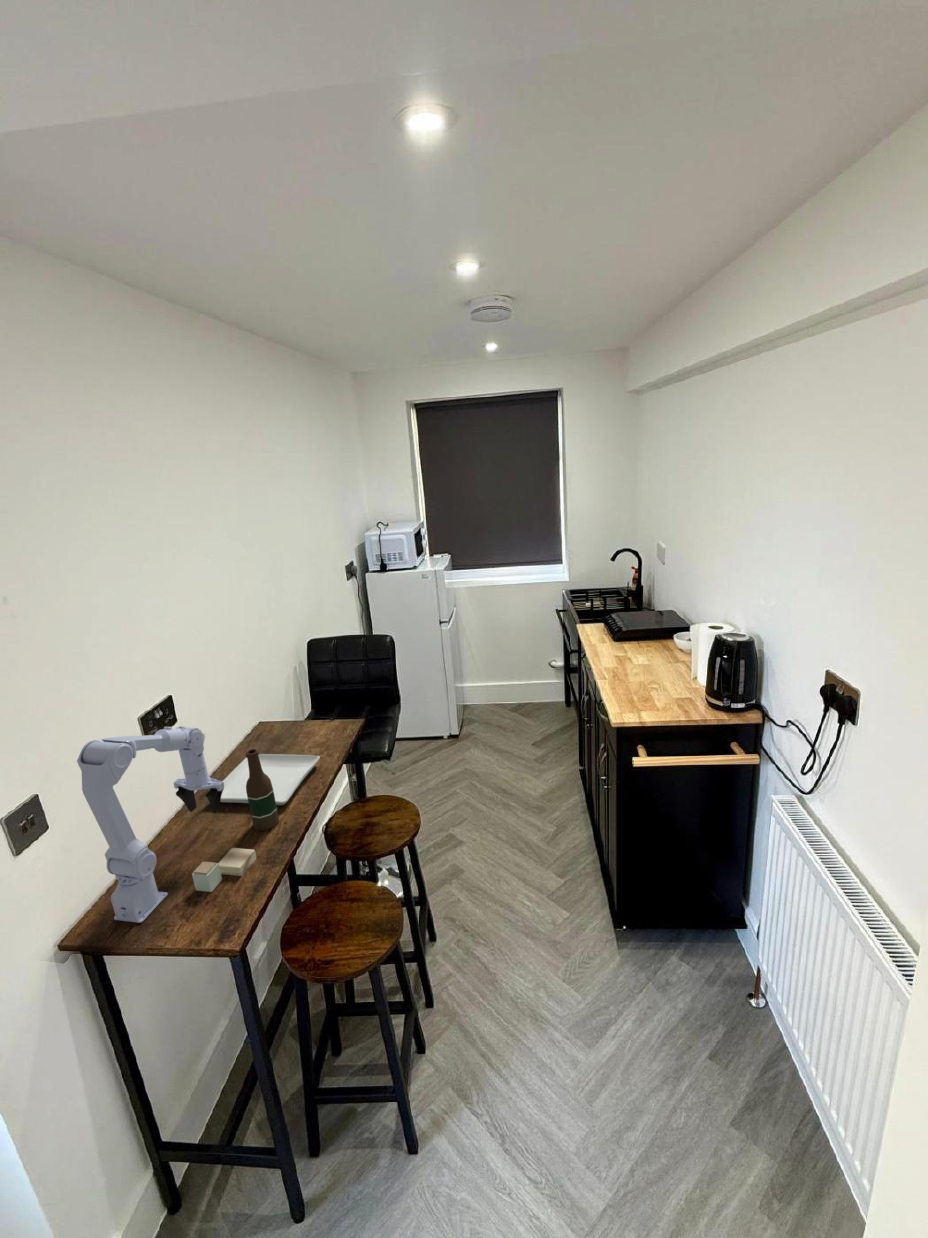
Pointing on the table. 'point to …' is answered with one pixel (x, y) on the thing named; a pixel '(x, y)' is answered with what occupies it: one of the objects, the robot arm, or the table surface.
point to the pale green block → (207, 876)
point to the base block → (237, 861)
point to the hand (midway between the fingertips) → (204, 810)
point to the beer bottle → (260, 794)
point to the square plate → (270, 776)
